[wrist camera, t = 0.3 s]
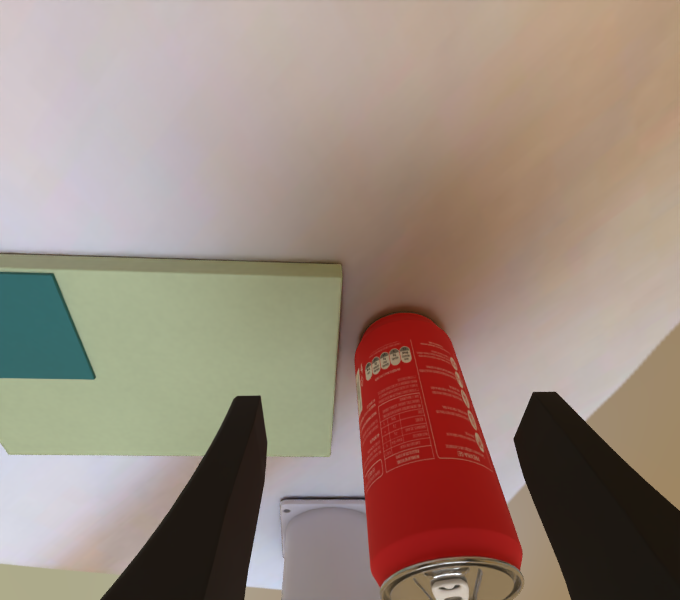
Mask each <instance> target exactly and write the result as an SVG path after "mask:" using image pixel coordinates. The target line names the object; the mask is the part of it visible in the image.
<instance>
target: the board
mask: <svg viewBox="0 0 680 600" xmlns="http://www.w3.org/2000/svg"><path fill="white" fill-rule="evenodd" d="M342 279H343V278H342V265H341V264H315V263H282V262H250V261H217V260H184V259H152V258H119V257H86V256H54V255H21V254H0V443H1V444H2V446H3V447H4V449H5V450H6V452H7V453H8V454H9V455H137V456H204V455H205V454H206V452H207V450H208V448H209V447H210V445H211V443H212V441H213V439H214V438H215V436H216V434H217V432H218V430H219V428H220V426H221V424H222V422H223V420H224V418H225V416H226V414H227V412H228V410H229V408H230V406H231V403H232V401H233V399H234V398H235V397H236V396H258V395H261V401H262V408H263V415H264V422H265V429H266V436H267V456H280V457H330V454H331V439H332V425H333V410H334V396H335V381H336V366H337V352H338V337H339V323H340V308H341V293H342Z"/></svg>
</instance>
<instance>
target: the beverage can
mask: <svg viewBox="0 0 680 600" xmlns="http://www.w3.org/2000/svg"><path fill="white" fill-rule="evenodd" d="M355 374H356V387H357V400H358V413H359V426H360V439H361V452H362V466H363V479H364V492H365V505H366V518H367V531H368V544H369V558H370V569H371V573H372V575H373V577H374V578H375V580H376V582H377V583H378V585H379V587H380V599H381V600H513V599H514V598H515V597H516V596H517V595H518V594H519V593H520V592H521V590H522V589H523V586H524V578H523V575H522V573H521V572H520V567H521V561H522V548H521V545H520V542H519V539H518V537H517V533H516V530H515V527H514V524H513V521H512V518H511V516H510V513H509V510H508V507H507V504H506V501H505V498H504V495H503V492H502V489H501V486H500V483H499V480H498V477H497V474H496V471H495V468H494V465H493V462H492V460H491V457H490V454H489V451H488V448H487V445H486V442H485V439H484V436H483V433H482V430H481V427H480V424H479V421H478V418H477V415H476V412H475V410H474V407H473V404H472V401H471V398H470V395H469V392H468V389H467V386H466V383H465V380H464V377H463V374H462V371H461V368H460V365H459V362H458V359H457V357H456V354H455V351H454V348H453V345H452V342H451V340H450V338H449V337H448V335H447V334H446V333H445V332H444V331H443V330H442V329H440V328H439V327H438V326H437V325H436V324H435V323H434V322H433V321H432V320H431V319H429V318H428V317H426V316H424V315H421V314H418V313H413V312H397V313H392V314H389V315H386V316H383V317H381V318H379V319H377V320H376V321H374V322H373V323H372V324H371V325H370V326H369V327H368V328H367V329H366V330H365V332H364V334H363V336H362V339H361V342H360V343H359V345H358V347H357V349H356V353H355Z"/></svg>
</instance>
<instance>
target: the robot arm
mask: <svg viewBox="0 0 680 600" xmlns="http://www.w3.org/2000/svg"><path fill="white" fill-rule="evenodd" d="M514 443H515V447H516V451H517V455H518V459H519V462H520V466H521V469H522V473H523V476H524V479H525V481H526V484H527V486H528V489H529V491H530V494H531V496H532V499H533V501H534V504H535V506H536V509H537V511H538V514H539V516H540V518H541V521H542V523H543V526H544V528H545V531H546V533H547V536H548V538H549V540H550V543H551V545H552V548H553V550H554V553H555V555H556V557H557V560H558V562H559V565H560V568H561V571H562V573H563V576H564V579H565V581H566V584H567V588H568V591H569V594H570V597H571V600H680V511H679V510H678V509H677V508H676V507H674V506H673V505H672V504H671V503H670V502H669V501H668V500H667V499H666V498H664V497H663V496H662V495H661V494H660V493H659V492H658V491H657V490H655V489H654V488H653V487H652V486H651V485H650V484H648V482H646V481H645V480H644V479H643V478H642V477H641V476H640V475H639V474H638V473H637V472H636V471H635V470H634V469H632V468H631V467H630V466H629V465H628V464H627V463H626V462H625V461H624V460H623V459H622V458H621V457H620V456H619V455H618V454H617V453H616V452H615V451H614V450H613V449H612V448H611V447H610V446H609V445H608V444H607V443H606V442H605V441H604V440H603V439H602V438H601V437H600V436H599V435H598V434H597V433H596V432H595V431H594V430H593V429H592V428H591V427H590V426H589V425H588V424H587V423H586V422H585V421H584V420H583V419H582V418H581V417H580V416H579V415H578V414H577V413H576V412H575V411H574V410H573V409H572V408H571V407H570V406H569V405H568V404H567V403H566V402H565V401H564V400H563V399H562V398H561V397H560V396H559V395H558V394H557V393H556V392H533V393H532V396H531V398H530V401H529V403H528V405H527V408H526V410H525V413H524V415H523V418H522V420H521V422H520V425H519V427H518V430H517V432H516V434H515V437H514ZM266 456H267V436H266V429H265V422H264V415H263V408H262V401H261V395H258V396H236V397H235V398H234V399H233V401H232V403H231V406H230V408H229V410H228V412H227V414H226V416H225V418H224V420H223V422H222V424H221V426H220V428H219V430H218V432H217V434H216V436H215V438H214V439H213V441H212V443H211V445H210V447H209V448H208V450H207V452H206V454H205V455H204V457H203V459H202V460H201V462H200V464H199V466H198V467H197V469H196V471H195V472H194V474H193V476H192V477H191V479H190V480H189V482H188V483H187V485H186V486H185V488H184V490H183V491H182V493H181V494H180V496H179V497H178V499H177V500H176V502H175V503H174V505H173V506H172V508H171V509H170V511H169V512H168V514H167V515H166V516H165V518H164V519H163V521H162V522H161V524H160V525H159V526H158V528H157V529H156V530H155V532H154V533H153V534H152V536H151V537H150V538H149V540H148V541H147V542H146V544H145V545H144V546H143V548H142V549H141V550H140V552H139V553H138V554H137V556H136V557H135V558H134V559H133V560H132V562H131V563H130V564H129V565H128V567H127V568H126V569H125V570H124V572H123V573H122V574H121V575H120V577H119V578H118V579H117V580H116V582H115V583H114V584H113V585H112V587H111V588H110V589H109V590H108V591H107V592H106V594H105V595H104V596H103V597H102V598H101V599H100V600H244V597H245V588H246V582H247V575H248V568H249V563H250V558H251V552H252V547H253V541H254V536H255V531H256V525H257V520H258V514H259V509H260V503H261V498H262V492H263V487H264V480H265V469H266ZM280 515H281V533H282V550H283V558H284V569H283V583H282V598H281V600H381V599H380V587H379V585H378V583H377V582H376V580H375V578H374V577H373V575H372V573H371V569H370V558H369V544H368V531H367V518H366V505H365V500H283V501H281V503H280Z"/></svg>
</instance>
